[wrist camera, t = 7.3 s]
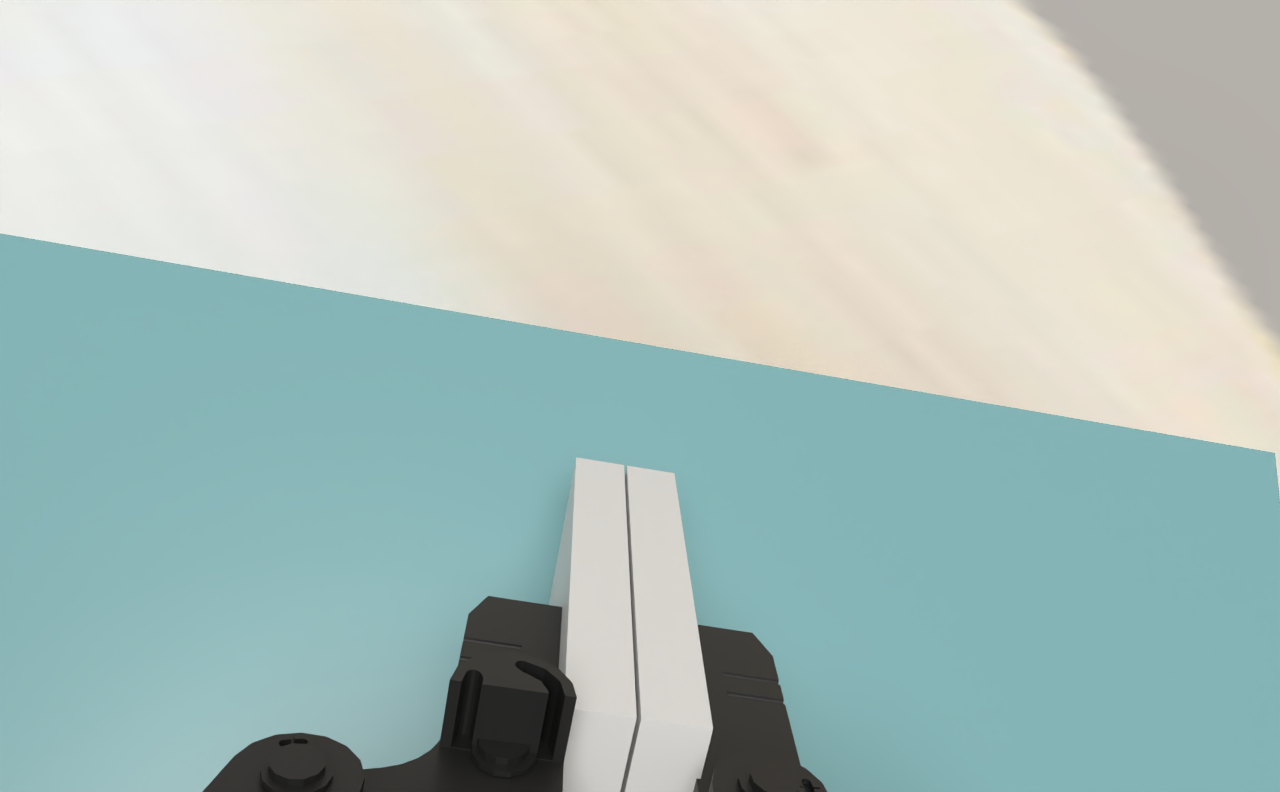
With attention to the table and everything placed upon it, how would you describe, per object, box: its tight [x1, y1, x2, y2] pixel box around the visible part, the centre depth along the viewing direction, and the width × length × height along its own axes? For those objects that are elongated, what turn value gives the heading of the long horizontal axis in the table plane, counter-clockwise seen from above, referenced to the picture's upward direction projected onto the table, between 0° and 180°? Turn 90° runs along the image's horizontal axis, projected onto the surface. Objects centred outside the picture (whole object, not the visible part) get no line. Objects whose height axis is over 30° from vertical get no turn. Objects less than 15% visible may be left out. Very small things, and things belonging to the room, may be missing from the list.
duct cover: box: [0, 234, 1280, 792], centre depth 19 cm, size 11×26×1 cm, turn 83°
